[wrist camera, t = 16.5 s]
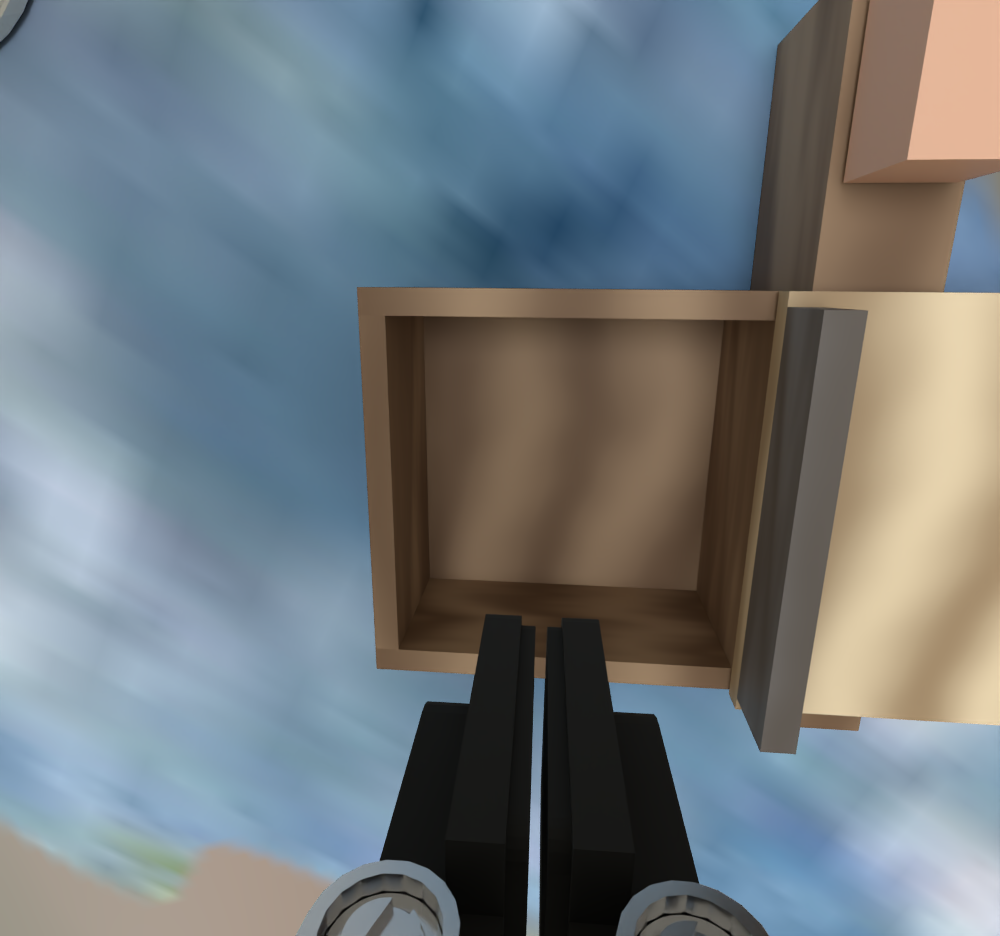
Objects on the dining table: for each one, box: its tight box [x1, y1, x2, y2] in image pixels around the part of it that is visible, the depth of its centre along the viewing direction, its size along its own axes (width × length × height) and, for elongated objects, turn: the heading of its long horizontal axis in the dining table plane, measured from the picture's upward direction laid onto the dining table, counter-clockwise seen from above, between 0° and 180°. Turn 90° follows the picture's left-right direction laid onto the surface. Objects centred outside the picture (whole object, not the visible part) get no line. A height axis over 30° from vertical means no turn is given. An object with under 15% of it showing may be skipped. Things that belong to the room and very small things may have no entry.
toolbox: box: [357, 0, 965, 731], centre depth 27 cm, size 21×28×8 cm
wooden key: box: [843, 0, 1000, 183], centre depth 18 cm, size 4×6×4 cm, turn 179°
